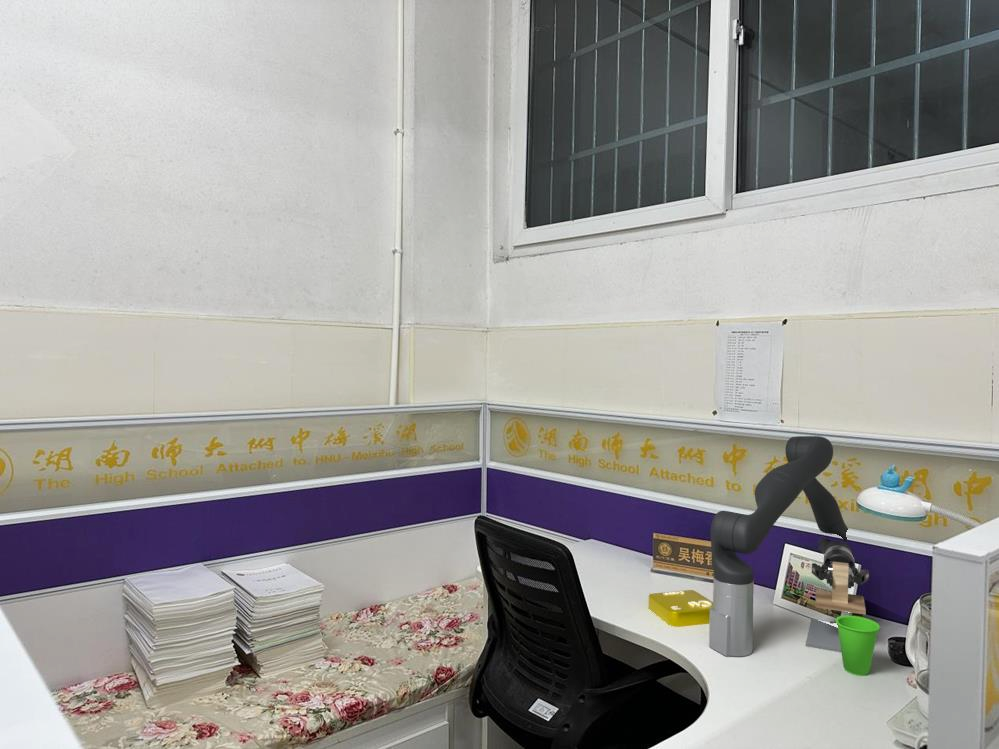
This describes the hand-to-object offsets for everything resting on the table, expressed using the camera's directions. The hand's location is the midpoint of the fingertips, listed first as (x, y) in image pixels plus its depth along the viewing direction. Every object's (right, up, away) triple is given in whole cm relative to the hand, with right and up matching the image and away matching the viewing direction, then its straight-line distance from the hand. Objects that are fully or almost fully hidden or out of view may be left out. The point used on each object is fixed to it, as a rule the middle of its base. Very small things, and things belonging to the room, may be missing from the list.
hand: (840, 583), depth 173 cm
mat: (+1, -15, +5) cm, 16 cm away
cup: (-3, -16, -13) cm, 21 cm away
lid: (+1, -6, +3) cm, 7 cm away
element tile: (-33, -15, +20) cm, 42 cm away
